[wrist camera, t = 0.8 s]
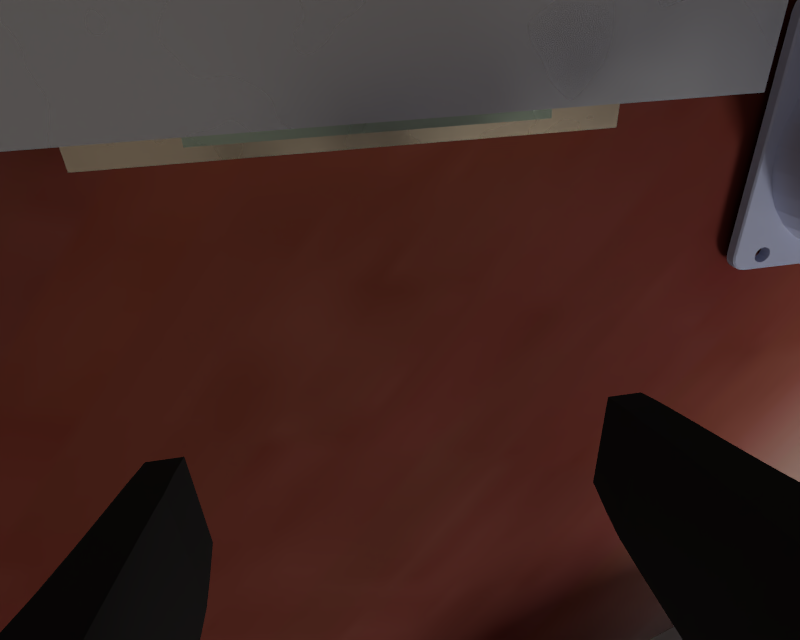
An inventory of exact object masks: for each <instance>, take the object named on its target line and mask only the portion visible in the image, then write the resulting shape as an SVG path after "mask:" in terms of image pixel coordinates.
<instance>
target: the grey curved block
mask: <svg viewBox="0 0 800 640" xmlns="http://www.w3.org/2000/svg"><path fill="white" fill-rule="evenodd" d="M650 640H682V638H681V636H680V635H679V633H678V632H677V630H676V629H675V627H673V628H671V629H669V630H667V631H665V632H663V633H661V634H659V635H657V636H655V637H654V638H652V639H650Z"/></svg>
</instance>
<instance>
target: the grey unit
mask: <svg viewBox="0 0 800 640" xmlns="http://www.w3.org/2000/svg"><path fill="white" fill-rule="evenodd" d="M788 1H789V0H0V152H2V151H15V150H28V149H41V148H54V147H59V148H60V151H61V154H62V157H63V160H64V162H65V165H66V168H67V171H68V173H69V172H81V171H94V170H106V169H118V168H130V167H142V166H154V165H166V164H178V163H191V162H203V161H215V160H227V159H239V158H251V157H263V156H275V155H287V154H300V153H312V152H324V151H336V150H348V149H360V148H372V147H384V146H397V145H409V144H421V143H433V142H445V141H457V140H469V139H481V138H494V137H506V136H518V135H530V134H542V133H554V132H566V131H578V130H591V129H603V128H615V127H616V126H617V119H618V112H619V105H620V104H621V103H634V102H647V101H660V100H673V99H685V98H698V97H711V96H724V95H737V94H750V93H763V92H765V88H766V84H767V81H768V77H769V73H770V69H771V65H772V62H773V58H774V54H775V50H776V46H777V43H778V39H779V35H780V31H781V27H782V24H783V20H784V16H785V12H786V8H787V5H788Z"/></svg>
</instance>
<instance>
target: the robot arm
mask: <svg viewBox="0 0 800 640" xmlns="http://www.w3.org/2000/svg"><path fill="white" fill-rule="evenodd" d="M760 249H761V250H760ZM758 250H760V252H759V254H758V255H756V256H755V254H756V253H757V251H758ZM727 261H728V263H729V264H730V265H731V266H733V267H735V268H737V269H740V270H746V269H755V268H763V267H772V266H781V265H789V264H798V263H800V0H797V1H796V3H795V5H794V8H793V10H792V13H791V17H790V21H789V24H788V28H787V32H786V36H785V39H784V43H783V47H782V51H781V54H780V58H779V62H778V66H777V69H776V73H775V77H774V80H773V84H772V88H771V92H770V95H769V99H768V103H767V107H766V110H765V114H764V118H763V122H762V125H761V129H760V133H759V136H758V140H757V144H756V148H755V151H754V155H753V159H752V163H751V166H750V170H749V174H748V178H747V181H746V185H745V189H744V192H743V196H742V200H741V204H740V207H739V211H738V215H737V219H736V222H735V226H734V230H733V234H732V237H731V241H730V245H729V248H728V252H727ZM593 483H594V485H595V487H596V489H597V492H598V494H599V496H600V498H601V501H602V503H603V505H604V507H605V510H606V512H607V514H608V516H609V518H610V520H611V522H612V524H613V526H614V528H615V530H616V532H617V534H618V536H619V538H620V540H621V541H622V543H623V545H624V546H625V548H626V550H627V551H628V553H629V555H630V556H631V558H632V560H633V561H634V563H635V564H636V566H637V568H638V569H639V571H640V573H641V574H642V576H643V577H644V579H645V581H646V582H647V584H648V585H649V587H650V589H651V590H652V592H653V593H654V595H655V597H656V598H657V600H658V601H659V603H660V605H661V606H662V608H663V609H664V611H665V613H666V614H667V616H668V617H669V619H670V621H671V622H672V624H673V625H674V627H675V629H676V630H677V632H678V633H679V635H680V636H681V638H682V640H800V482H798V481H796V480H794V479H793V478H791V477H789V476H787V475H785V474H784V473H782V472H780V471H778V470H776V469H775V468H773V467H771V466H769V465H767V464H766V463H764V462H762V461H760V460H759V459H757V458H755V457H753V456H752V455H750V454H748V453H746V452H745V451H743V450H741V449H739V448H738V447H736V446H734V445H732V444H731V443H729V442H727V441H726V440H724V439H722V438H720V437H719V436H717V435H715V434H714V433H712V432H710V431H708V430H707V429H705V428H703V427H702V426H700V425H698V424H696V423H695V422H693V421H691V420H690V419H688V418H686V417H684V416H683V415H681V414H679V413H678V412H676V411H674V410H672V409H671V408H669V407H667V406H665V405H664V404H662V403H660V402H658V401H656V400H654V399H653V398H651V397H649V396H647V395H645V394H643V393H634V394H627V395H620V396H613V397H608V401H607V407H606V412H605V418H604V424H603V429H602V435H601V441H600V447H599V452H598V458H597V464H596V469H595V475H594V481H593ZM212 546H213V542H212V539H211V536H210V533H209V530H208V527H207V524H206V521H205V518H204V515H203V512H202V509H201V506H200V503H199V500H198V497H197V494H196V491H195V488H194V485H193V482H192V479H191V476H190V473H189V470H188V467H187V464H186V461H185V458H184V457H180V458H173V459H166V460H159V461H152V462H145V463H144V464H143V465H142V467H141V468H140V469H139V470H138V471H137V473H136V474H135V475H134V476H133V477H132V478H131V480H130V481H129V482H128V483H127V484H126V486H125V487H124V488H123V489H122V490H121V492H120V493H119V494H118V495H117V497H116V498H115V499H114V500H113V502H112V503H111V504H110V505H109V506H108V508H107V509H106V510H105V511H104V513H103V514H102V515H101V516H100V517H99V519H98V520H97V521H96V522H95V524H94V525H93V526H92V527H91V528H90V530H89V531H88V532H87V533H86V535H85V536H84V537H83V538H82V539H81V541H80V542H79V543H78V544H77V545H76V547H75V548H74V549H73V550H72V551H71V552H70V554H69V555H68V556H67V557H66V558H65V560H64V561H63V562H62V563H61V564H60V565H59V567H58V568H57V569H56V570H55V571H54V573H53V574H52V575H51V576H50V577H49V578H48V580H47V581H46V582H45V583H44V584H43V586H42V587H41V588H40V589H39V590H38V591H37V592H36V594H35V595H34V596H33V597H32V598H31V599H30V600H29V602H28V603H27V604H26V605H25V606H24V607H23V608H22V609H21V610H20V612H19V613H18V614H17V615H16V616H15V617H14V618H13V619H12V620H11V621H10V623H9V624H8V625H7V626H6V627H5V628H4V629H3V630H2V631H1V632H0V640H200V637H201V632H202V628H203V623H204V618H205V613H206V608H207V599H208V590H209V581H210V570H211V558H212Z"/></svg>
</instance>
